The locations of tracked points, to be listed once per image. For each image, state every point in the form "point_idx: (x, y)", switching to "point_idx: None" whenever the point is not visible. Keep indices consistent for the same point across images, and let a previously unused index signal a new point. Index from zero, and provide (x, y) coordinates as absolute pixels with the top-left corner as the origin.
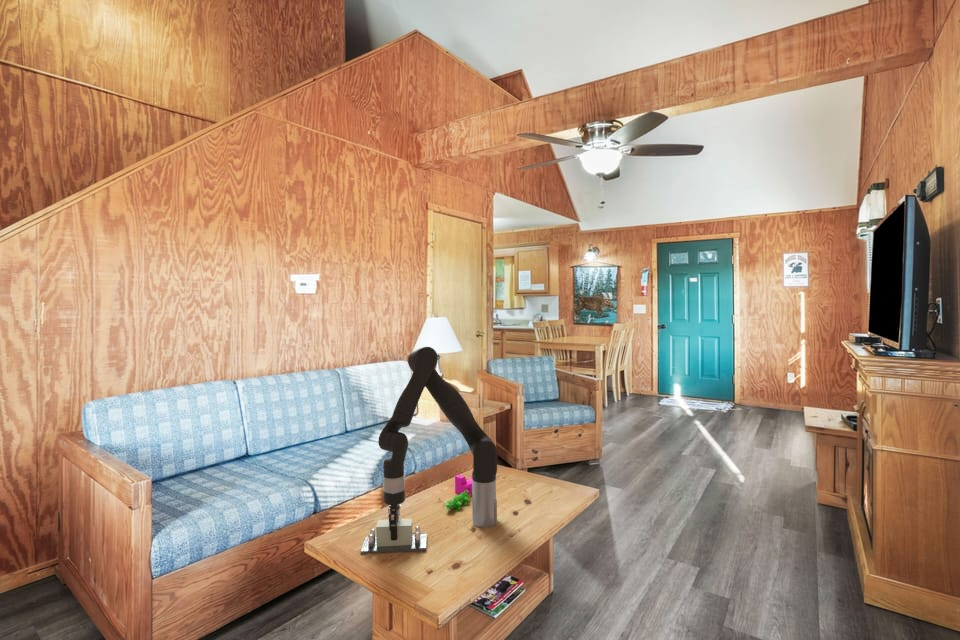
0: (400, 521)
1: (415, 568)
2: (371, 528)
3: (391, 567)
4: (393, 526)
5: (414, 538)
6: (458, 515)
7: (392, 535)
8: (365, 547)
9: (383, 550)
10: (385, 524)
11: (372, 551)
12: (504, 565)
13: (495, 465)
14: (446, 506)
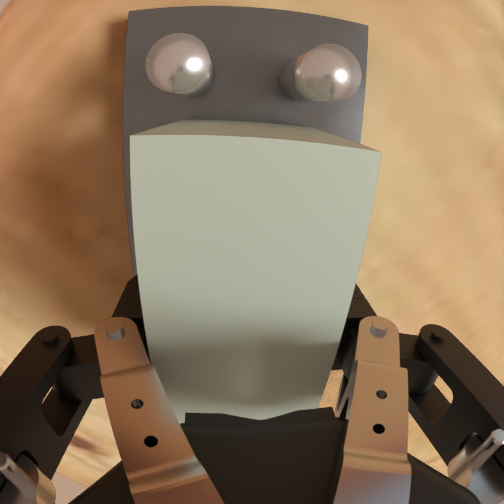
0: (261, 414)
1: (22, 343)
2: (354, 60)
3: (3, 244)
4: (76, 385)
5: None
6: (423, 437)
7: (121, 304)
8: (186, 32)
9: (125, 182)
10: (205, 275)
11: (125, 97)
12: None
13: None
14: None
